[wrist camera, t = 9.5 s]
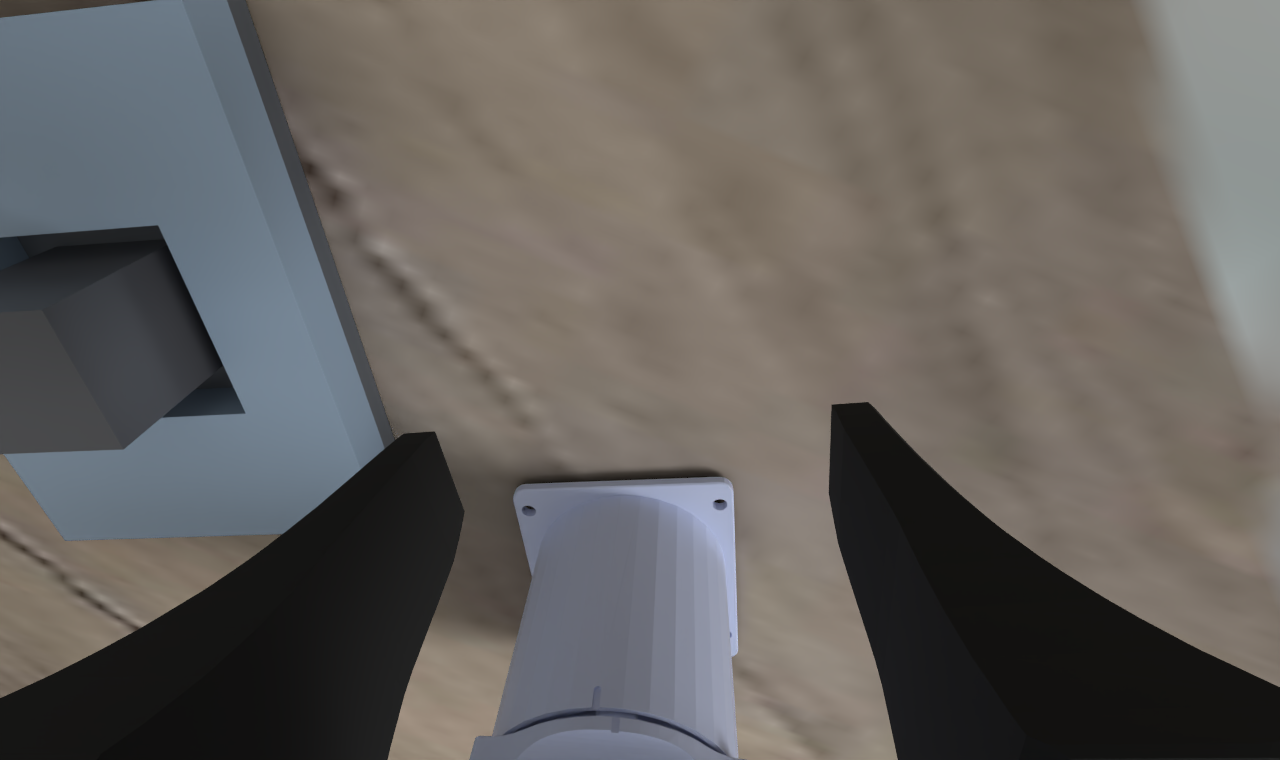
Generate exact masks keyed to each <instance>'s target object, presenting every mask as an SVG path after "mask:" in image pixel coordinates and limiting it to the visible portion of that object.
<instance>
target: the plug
mask: <svg viewBox="0 0 1280 760" xmlns="http://www.w3.org/2000/svg"><path fill="white" fill-rule="evenodd" d="M222 366H223V364H222V361H221V359H220V357H219V355H218V353H217V351H216V349H215V346H214V344H213V342H212V340H211V338H210V336H209V334H208V331H207V329H206V327H205V325H204V323H203V321H202V318H201V316H200V314H199V312H198V310H197V308H196V306H195V303H194V301H193V299H192V297H191V295H190V293H189V291H188V288H187V286H186V284H185V282H184V280H183V278H182V276H181V273H180V271H179V269H178V267H177V265H176V263H175V261H174V258H173V256H172V254H171V252H170V250H169V248H168V245H167V243H166V241H165V239H160V240H146V241H131V242H117V243H102V244H87V245H73V246H58V247H54V248H52V249H49V250H47V251H45V252H42V253H40V254H38V255H35V256H33V257H31V258H28V259H26V260H24V261H21V262H19V263H17V264H14V265H12V266H10V267H7V268H5V269H3V270H1V271H0V454H19V453H45V452H72V451H98V450H124V449H125V448H126V447H127V446H128V445H130V444H131V443H132V442H133V441H134V440H136V439H137V438H138V437H139V436H140V435H141V434H143V433H144V432H145V431H146V430H147V429H149V428H150V427H151V426H152V425H153V424H155V423H156V422H157V421H158V420H159V419H160V418H162V417H163V416H164V415H165V414H166V413H168V412H169V411H170V410H171V409H172V408H173V407H175V406H176V405H177V404H178V403H179V402H181V401H182V400H183V399H184V398H185V397H186V396H188V395H189V394H190V393H191V392H192V391H194V390H195V389H196V388H197V387H198V386H200V385H201V384H202V383H203V382H204V381H205V380H207V379H208V378H209V377H210V376H211V375H213V374H214V373H215V372H216V371H217V370H218V369H220V368H221V367H222Z"/></svg>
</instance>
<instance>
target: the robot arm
mask: <svg viewBox="0 0 1280 760" xmlns="http://www.w3.org/2000/svg"><path fill="white" fill-rule="evenodd" d="M829 496H830V502H831V507H832V513H833V518H834V524H835V529H836V534H837V539H838V544H839V547H840V551H841V554H842V557H843V560H844V564H845V567H846V570H847V573H848V576H849V579H850V583H851V586H852V589H853V592H854V595H855V598H856V601H857V605H858V608H859V611H860V614H861V617H862V620H863V623H864V626H865V630H866V633H867V636H868V639H869V642H870V645H871V648H872V651H873V655H874V658H875V661H876V665H877V668H878V672H879V676H880V679H881V683H882V687H883V692H884V696H885V701H886V706H887V710H888V715H889V720H890V724H891V729H892V734H893V738H894V743H895V748H896V753H897V758H898V760H1280V687H1278V686H1276V685H1274V684H1271V683H1269V682H1267V681H1265V680H1263V679H1261V678H1259V677H1257V676H1254V675H1252V674H1250V673H1248V672H1246V671H1244V670H1242V669H1239V668H1237V667H1235V666H1233V665H1231V664H1229V663H1227V662H1225V661H1222V660H1220V659H1218V658H1216V657H1214V656H1212V655H1210V654H1207V653H1205V652H1203V651H1201V650H1199V649H1197V648H1195V647H1193V646H1191V645H1189V644H1187V643H1185V642H1184V641H1182V640H1180V639H1178V638H1176V637H1174V636H1172V635H1170V634H1169V633H1167V632H1165V631H1163V630H1161V629H1159V628H1157V627H1155V626H1154V625H1152V624H1150V623H1148V622H1146V621H1144V620H1142V619H1140V618H1139V617H1137V616H1135V615H1133V614H1132V613H1130V612H1128V611H1126V610H1125V609H1123V608H1121V607H1119V606H1118V605H1116V604H1114V603H1112V602H1111V601H1109V600H1107V599H1105V598H1104V597H1102V596H1101V595H1099V594H1097V593H1096V592H1094V591H1093V590H1091V589H1089V588H1088V587H1086V586H1084V585H1083V584H1081V583H1080V582H1078V581H1076V580H1075V579H1073V578H1072V577H1070V576H1068V575H1067V574H1065V573H1064V572H1062V571H1061V570H1059V569H1058V568H1056V567H1055V566H1053V565H1052V564H1050V563H1049V562H1047V561H1045V560H1044V559H1043V558H1041V557H1040V556H1038V555H1037V554H1035V553H1034V552H1033V551H1031V550H1030V549H1029V548H1027V547H1026V546H1024V545H1023V544H1022V543H1020V542H1019V541H1017V540H1016V539H1015V538H1013V537H1012V536H1011V535H1009V534H1008V533H1006V532H1005V531H1004V530H1002V529H1001V528H1000V527H999V526H997V525H996V524H995V523H994V522H992V521H991V520H990V519H989V518H987V517H986V516H985V515H984V514H983V513H981V512H980V511H979V510H978V509H977V508H976V507H974V506H973V505H972V504H971V503H970V502H969V501H967V500H966V499H965V498H964V497H963V496H962V495H960V494H959V493H958V492H957V491H956V490H955V489H954V488H953V487H952V486H950V485H949V484H948V483H947V482H946V481H945V480H944V479H943V478H942V477H941V476H940V475H939V474H938V473H937V472H936V471H935V470H934V469H933V468H931V467H930V466H929V465H928V464H927V463H926V462H925V461H924V460H923V459H922V458H921V457H920V456H919V455H918V454H917V453H916V452H915V451H914V450H913V449H912V448H911V447H910V446H909V445H908V444H907V443H906V441H905V440H904V439H903V438H902V437H901V436H900V435H899V434H898V433H897V432H896V431H895V430H894V429H893V428H892V427H891V426H890V424H889V423H888V422H887V421H886V420H885V419H884V418H883V417H882V416H881V415H880V413H879V412H878V411H877V410H876V409H875V408H874V407H873V406H872V405H871V404H870V403H868V402H864V403H849V404H835V405H832V412H831V443H830V473H829ZM718 499H722V500H725V501H724V502H722V503H716V502H714V501H715V500H718ZM513 501H514V506H515V510H516V514H517V518H518V522H519V526H520V530H521V534H522V538H523V542H524V546H525V551H526V555H527V559H528V563H529V567H530V571H531V575H532V580H531V584H530V588H529V592H528V596H527V600H526V604H525V608H524V612H523V616H522V620H521V624H520V628H519V632H518V636H517V640H516V643H515V647H514V651H513V655H512V659H511V663H510V667H509V671H508V675H507V679H506V683H505V687H504V691H503V695H502V699H501V703H500V707H499V711H498V715H497V719H496V723H495V726H494V730H493V734H492V736H478V737H476V738H475V741H474V745H473V748H472V752H471V756H470V759H469V760H745V759H738V744H737V730H736V716H735V701H734V687H733V672H732V658H731V657H733V656H735V655H736V654H737V652H738V629H737V595H736V561H735V527H734V493H733V486H732V483H731V482H730V481H729V480H728V479H726V478H724V477H699V478H672V479H645V480H618V481H591V482H564V483H537V484H523V485H520V486H518V487H517V488H516V490H515V493H514V496H513ZM525 506H532V507H533V508H534V509H528V508H526V507H525ZM463 517H464V509H463V506H462V504H461V501H460V498H459V496H458V493H457V490H456V487H455V485H454V482H453V479H452V477H451V474H450V471H449V468H448V466H447V463H446V460H445V458H444V455H443V452H442V449H441V447H440V444H439V441H438V439H437V436H436V433H435V432H421V433H406V434H403V435H402V436H400V437H399V438H398V439H396V440H395V441H394V442H392V443H391V444H390V445H389V446H387V447H386V448H385V449H384V450H383V451H381V452H380V453H379V454H378V455H377V456H376V457H374V458H373V459H372V460H371V461H370V462H369V463H367V464H366V465H365V466H364V467H363V468H362V469H360V470H359V471H358V472H357V473H356V474H355V475H354V476H352V477H351V478H350V479H349V480H348V481H347V482H345V483H344V484H343V485H342V486H341V487H340V488H338V489H337V490H336V491H335V492H334V493H333V494H331V495H330V496H329V497H328V498H327V499H325V500H324V501H323V502H322V503H321V504H320V505H318V506H317V507H316V508H315V509H314V510H312V511H311V512H310V513H308V514H307V515H306V516H305V517H303V518H302V519H301V520H300V521H298V522H297V523H296V524H295V525H293V526H292V527H291V528H290V529H288V530H287V531H286V532H285V533H283V534H282V535H281V536H280V537H278V538H277V539H276V540H274V541H273V542H272V543H271V544H269V545H268V546H267V547H265V548H264V549H263V550H261V551H260V552H259V553H257V554H256V555H255V556H253V557H252V558H250V559H249V560H248V561H246V562H245V563H243V564H242V565H241V566H239V567H238V568H236V569H235V570H233V571H232V572H230V573H229V574H227V575H226V576H224V577H223V578H221V579H220V580H218V581H217V582H215V583H214V584H213V585H211V586H209V587H208V588H206V589H205V590H203V591H202V592H200V593H199V594H197V595H195V596H194V597H192V598H190V599H189V600H187V601H185V602H184V603H182V604H180V605H179V606H177V607H175V608H174V609H172V610H170V611H169V612H167V613H165V614H164V615H162V616H160V617H159V618H157V619H155V620H154V621H152V622H150V623H149V624H147V625H145V626H144V627H142V628H140V629H138V630H137V631H135V632H133V633H131V634H129V635H127V636H126V637H124V638H122V639H120V640H118V641H116V642H115V643H113V644H111V645H109V646H107V647H105V648H103V649H102V650H100V651H98V652H96V653H94V654H92V655H90V656H88V657H86V658H84V659H82V660H80V661H78V662H76V663H74V664H72V665H70V666H68V667H66V668H64V669H62V670H60V671H58V672H56V673H54V674H52V675H50V676H48V677H46V678H44V679H42V680H39V681H37V682H35V683H33V684H31V685H28V686H26V687H24V688H22V689H20V690H18V691H15V692H13V693H11V694H9V695H7V696H4V697H2V698H0V760H387V759H388V755H389V751H390V747H391V743H392V739H393V735H394V732H395V728H396V724H397V720H398V717H399V713H400V709H401V705H402V702H403V698H404V694H405V691H406V688H407V685H408V682H409V679H410V676H411V673H412V670H413V668H414V665H415V662H416V660H417V657H418V655H419V652H420V649H421V647H422V644H423V641H424V639H425V636H426V634H427V631H428V628H429V626H430V623H431V620H432V618H433V615H434V613H435V610H436V607H437V605H438V602H439V600H440V597H441V594H442V591H443V589H444V586H445V583H446V581H447V578H448V575H449V572H450V570H451V567H452V564H453V561H454V557H455V553H456V549H457V545H458V541H459V536H460V531H461V527H462V522H463Z"/></svg>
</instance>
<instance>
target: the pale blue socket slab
mask: <svg viewBox="0 0 1280 760" xmlns="http://www.w3.org/2000/svg"><path fill="white" fill-rule="evenodd" d="M160 239H165V241H166V243H167V245H168V248H169V250H170V252H171V254H172V256H173V258H174V261H175V263H176V265H177V267H178V269H179V271H180V273H181V276H182V278H183V280H184V282H185V284H186V286H187V288H188V291H189V293H190V295H191V297H192V299H193V301H194V303H195V306H196V308H197V310H198V312H199V314H200V316H201V318H202V321H203V323H204V325H205V327H206V329H207V331H208V334H209V336H210V338H211V340H212V342H213V344H214V346H215V349H216V351H217V353H218V355H219V357H220V359H221V361H222V364H223V366H222V367H221V368H220V369H218V370H217V371H216V372H215V373H214V374H213V375H211V376H210V377H209V378H208V379H207V380H205V381H204V382H203V383H202V384H201V385H200V386H198V387H197V388H196V389H195V390H194V391H192V392H191V393H190V394H189V395H188V396H186V397H185V398H184V399H183V400H182V401H181V402H179V403H178V404H177V405H176V406H175V407H173V408H172V409H171V410H170V411H169V412H168V413H166V414H165V415H164V416H163V417H162V418H160V419H159V420H158V421H157V422H156V423H155V424H153V425H152V426H151V427H150V428H149V429H147V430H146V431H145V432H144V433H143V434H141V435H140V436H139V437H138V438H137V439H136V440H134V441H133V442H132V443H131V444H130V445H128V446H127V447H126V448H125V449H124V450H98V451H72V452H45V453H19V454H4V455H5V457H6V458H7V460H8V461H9V462H10V464H11V465H12V467H13V468H14V469H15V471H16V472H17V474H18V475H19V476H20V478H21V479H22V481H23V482H24V484H25V485H26V486H27V488H28V489H29V491H30V492H31V493H32V495H33V496H34V498H35V499H36V500H37V502H38V503H39V505H40V506H41V507H42V509H43V510H44V512H45V513H46V515H47V516H48V517H49V519H50V520H51V522H52V523H53V524H54V526H55V527H56V529H57V530H58V531H59V533H60V534H61V536H62V537H63V539H64V540H65V541H73V540H105V539H138V538H170V537H202V536H235V535H267V534H283V533H285V532H286V531H287V530H288V529H290V528H291V527H292V526H293V525H295V524H296V523H297V522H298V521H300V520H301V519H302V518H303V517H305V516H306V515H307V514H308V513H310V512H311V511H312V510H314V509H315V508H316V507H317V506H318V505H320V504H321V503H322V502H323V501H324V500H325V499H327V498H328V497H329V496H330V495H331V494H333V493H334V492H335V491H336V490H337V489H338V488H340V487H341V486H342V485H343V484H344V483H345V482H347V481H348V480H349V479H350V478H351V477H352V476H354V475H355V474H356V473H357V472H358V471H359V470H360V469H362V468H363V467H364V466H365V465H366V464H367V463H369V462H370V461H371V460H372V459H373V458H374V457H376V456H377V455H378V454H379V453H380V452H381V451H383V450H384V449H385V448H386V447H387V446H389V445H390V444H391V443H392V442H394V441H395V439H394V436H393V433H392V430H391V427H390V424H389V422H388V419H387V416H386V413H385V410H384V407H383V404H382V401H381V398H380V395H379V392H378V389H377V386H376V383H375V380H374V377H373V374H372V372H371V369H370V366H369V363H368V360H367V357H366V354H365V351H364V348H363V345H362V342H361V339H360V336H359V333H358V330H357V327H356V324H355V322H354V319H353V316H352V313H351V310H350V307H349V304H348V301H347V298H346V295H345V292H344V289H343V286H342V283H341V280H340V277H339V274H338V271H337V269H336V266H335V263H334V260H333V257H332V254H331V251H330V248H329V245H328V242H327V239H326V236H325V233H324V230H323V227H322V224H321V221H320V219H319V216H318V213H317V210H316V207H315V204H314V201H313V198H312V195H311V192H310V189H309V186H308V183H307V180H306V177H305V174H304V171H303V169H302V166H301V163H300V160H299V157H298V154H297V151H296V148H295V145H294V142H293V139H292V136H291V133H290V130H289V127H288V124H287V121H286V118H285V116H284V113H283V110H282V107H281V104H280V101H279V98H278V95H277V92H276V89H275V86H274V83H273V80H272V77H271V74H270V71H269V68H268V66H267V63H266V60H265V57H264V54H263V51H262V48H261V45H260V42H259V39H258V36H257V33H256V30H255V27H254V24H253V21H252V18H251V16H250V13H249V10H248V7H247V4H246V1H245V0H154V1H145V2H137V3H128V4H119V5H110V6H101V7H92V8H83V9H75V10H66V11H57V12H48V13H39V14H30V15H22V16H13V17H4V18H0V271H1V270H3V269H5V268H7V267H10V266H12V265H14V264H17V263H19V262H21V261H24V260H26V259H28V258H31V257H33V256H35V255H38V254H40V253H42V252H45V251H47V250H49V249H52V248H54V247H58V246H73V245H87V244H102V243H117V242H131V241H146V240H160Z"/></svg>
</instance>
